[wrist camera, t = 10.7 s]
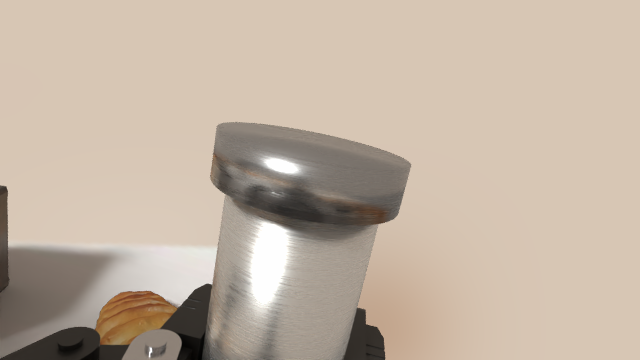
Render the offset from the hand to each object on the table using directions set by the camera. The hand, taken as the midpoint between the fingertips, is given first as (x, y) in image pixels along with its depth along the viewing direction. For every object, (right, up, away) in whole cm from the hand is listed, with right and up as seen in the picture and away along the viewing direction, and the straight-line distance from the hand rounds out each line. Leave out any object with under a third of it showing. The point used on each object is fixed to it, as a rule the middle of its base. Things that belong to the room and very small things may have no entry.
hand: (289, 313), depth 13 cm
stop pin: (-2, -8, -1) cm, 9 cm away
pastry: (-13, -8, +14) cm, 21 cm away
